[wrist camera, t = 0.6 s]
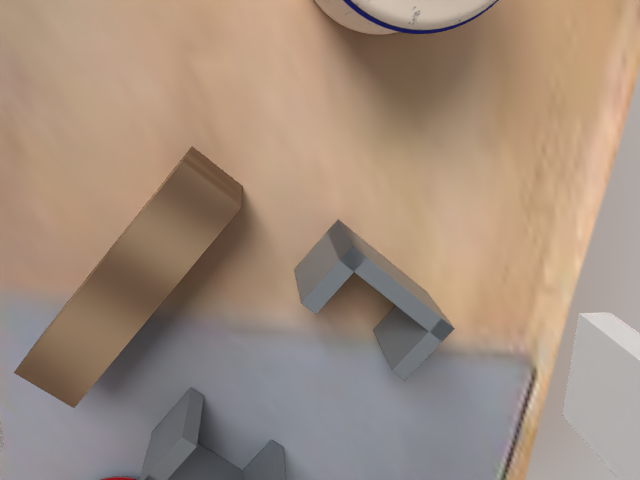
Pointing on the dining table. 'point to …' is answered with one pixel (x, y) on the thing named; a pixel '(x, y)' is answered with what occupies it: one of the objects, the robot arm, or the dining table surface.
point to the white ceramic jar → (403, 14)
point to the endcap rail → (315, 290)
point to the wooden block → (133, 278)
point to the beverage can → (119, 478)
